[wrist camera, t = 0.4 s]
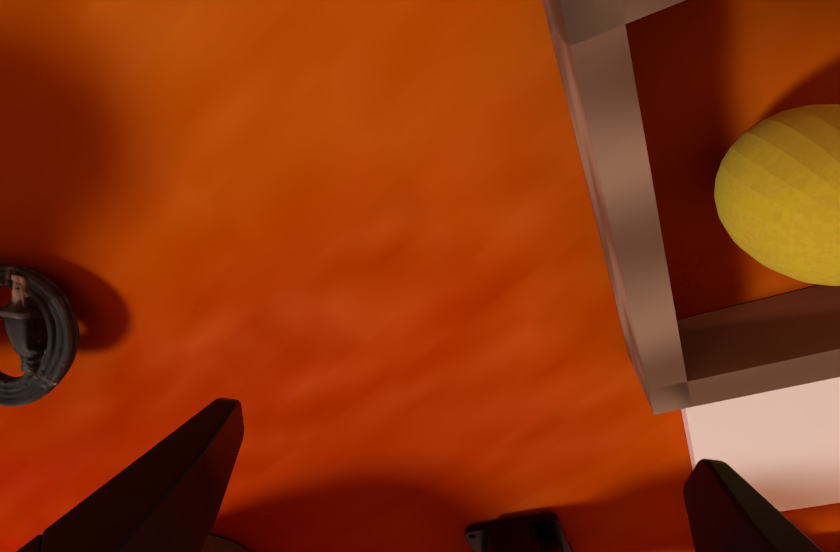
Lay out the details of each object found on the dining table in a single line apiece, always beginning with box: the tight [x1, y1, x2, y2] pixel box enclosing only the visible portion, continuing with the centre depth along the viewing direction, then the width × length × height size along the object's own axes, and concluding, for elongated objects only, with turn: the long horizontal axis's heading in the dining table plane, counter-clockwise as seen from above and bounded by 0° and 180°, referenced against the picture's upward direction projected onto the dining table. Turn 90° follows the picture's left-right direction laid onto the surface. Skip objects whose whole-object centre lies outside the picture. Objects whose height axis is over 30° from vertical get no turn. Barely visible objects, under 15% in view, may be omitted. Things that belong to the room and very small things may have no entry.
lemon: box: [714, 104, 840, 286], centre depth 17 cm, size 6×6×8 cm
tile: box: [681, 377, 840, 512], centre depth 27 cm, size 12×14×1 cm
